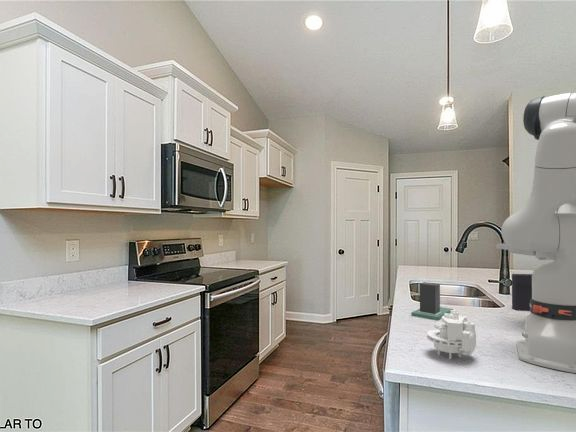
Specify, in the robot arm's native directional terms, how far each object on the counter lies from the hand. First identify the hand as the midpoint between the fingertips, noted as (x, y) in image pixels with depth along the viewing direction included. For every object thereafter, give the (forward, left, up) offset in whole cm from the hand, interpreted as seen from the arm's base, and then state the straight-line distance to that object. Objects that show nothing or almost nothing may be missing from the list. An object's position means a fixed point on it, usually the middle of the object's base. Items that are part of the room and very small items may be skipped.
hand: (499, 245), depth 131 cm
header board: (-7, +22, -28) cm, 36 cm away
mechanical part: (-50, +2, -28) cm, 57 cm away
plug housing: (-10, +22, -27) cm, 36 cm away
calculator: (+28, -5, -28) cm, 40 cm away
